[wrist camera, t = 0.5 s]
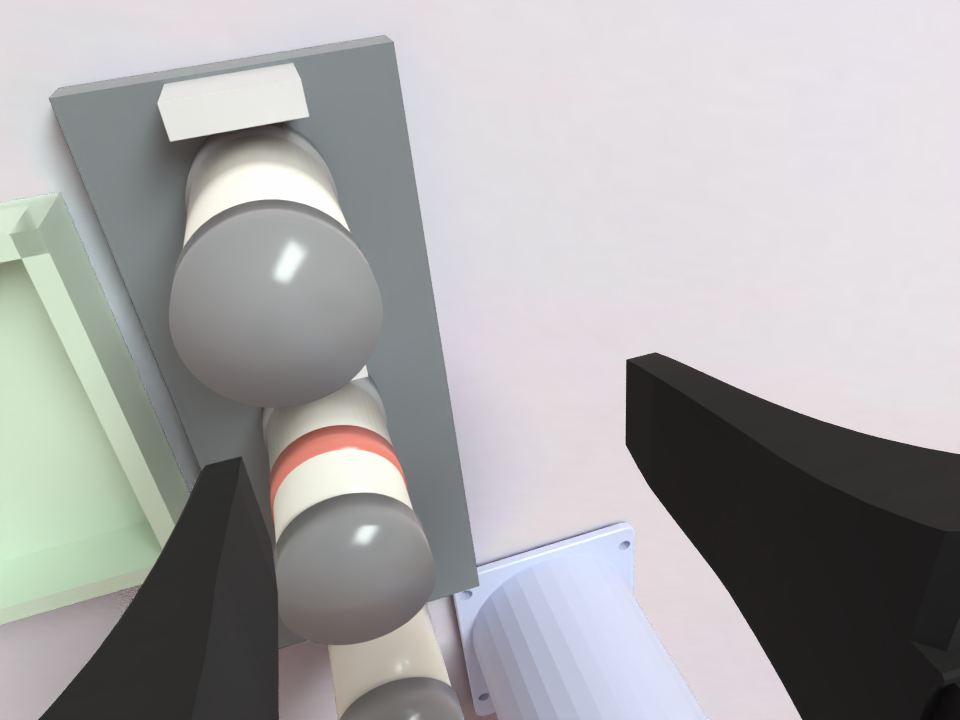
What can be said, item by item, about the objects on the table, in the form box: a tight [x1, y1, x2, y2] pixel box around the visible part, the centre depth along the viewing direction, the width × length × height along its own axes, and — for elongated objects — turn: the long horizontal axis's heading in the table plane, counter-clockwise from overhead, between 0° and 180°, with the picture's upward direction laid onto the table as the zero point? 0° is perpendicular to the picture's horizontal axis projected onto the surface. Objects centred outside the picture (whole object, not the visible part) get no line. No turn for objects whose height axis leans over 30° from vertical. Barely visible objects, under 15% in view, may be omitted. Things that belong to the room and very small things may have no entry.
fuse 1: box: [169, 122, 383, 408], centre depth 16 cm, size 4×4×8 cm
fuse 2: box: [328, 603, 465, 720], centre depth 23 cm, size 4×4×8 cm
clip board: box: [49, 35, 480, 649], centre depth 22 cm, size 20×8×3 cm, turn 7°
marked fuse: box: [262, 374, 436, 645], centre depth 20 cm, size 4×4×8 cm
